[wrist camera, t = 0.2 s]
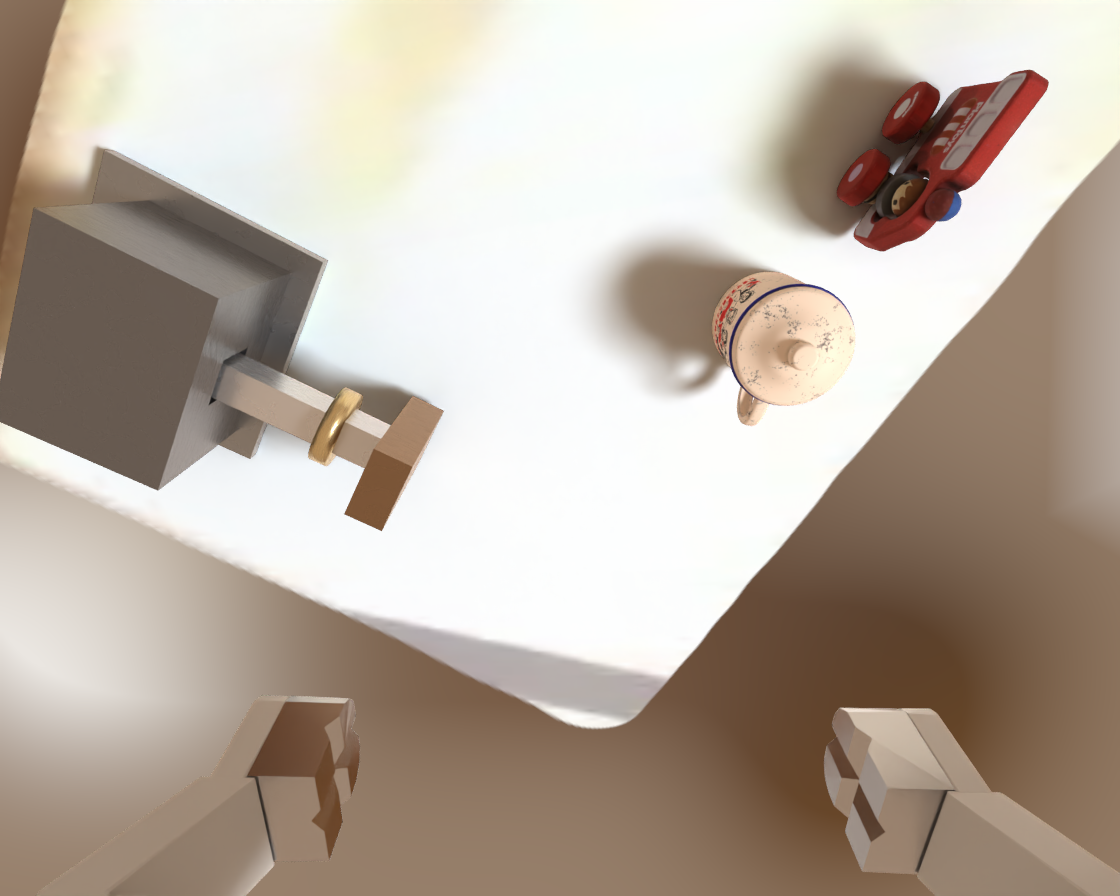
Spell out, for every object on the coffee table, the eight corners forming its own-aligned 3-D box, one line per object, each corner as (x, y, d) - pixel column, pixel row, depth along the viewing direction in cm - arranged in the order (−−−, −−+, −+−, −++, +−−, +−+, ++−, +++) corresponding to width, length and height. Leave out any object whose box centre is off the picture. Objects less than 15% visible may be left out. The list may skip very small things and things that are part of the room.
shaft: (444, 409, 58) (413, 464, 47) (416, 467, 60) (380, 532, 49) (215, 296, 55) (123, 327, 44) (194, 362, 57) (102, 408, 46)
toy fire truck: (813, 216, 53) (866, 226, 43) (921, 63, 49) (1005, 36, 39) (881, 261, 54) (946, 281, 44) (991, 116, 50) (1090, 102, 40)
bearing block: (328, 260, 55) (257, 285, 43) (255, 453, 62) (177, 522, 50) (114, 150, 52) (-28, 144, 40) (64, 366, 59) (-70, 416, 47)
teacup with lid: (729, 255, 54) (767, 275, 43) (833, 284, 55) (895, 311, 44) (682, 390, 59) (706, 438, 48) (778, 414, 59) (823, 468, 49)
